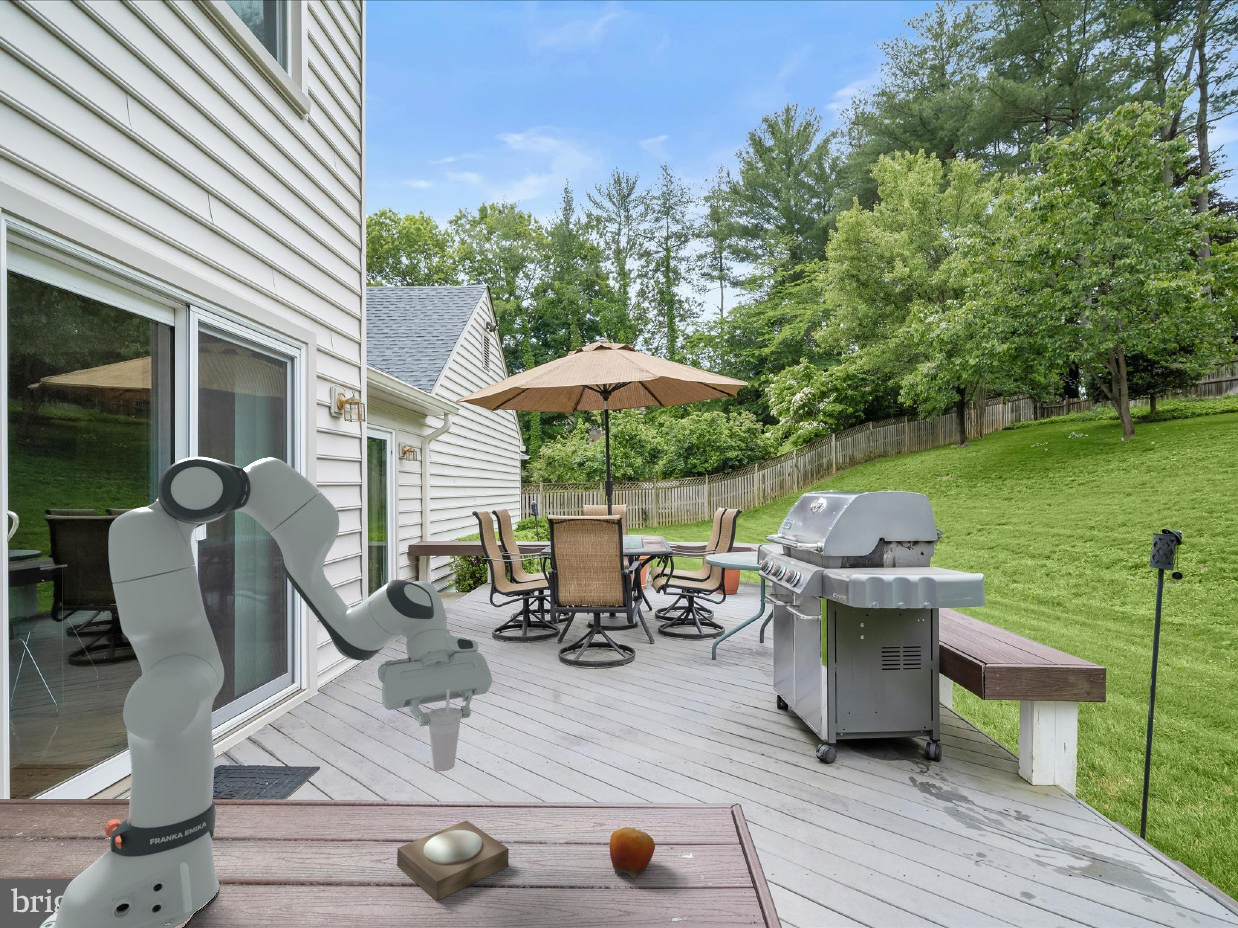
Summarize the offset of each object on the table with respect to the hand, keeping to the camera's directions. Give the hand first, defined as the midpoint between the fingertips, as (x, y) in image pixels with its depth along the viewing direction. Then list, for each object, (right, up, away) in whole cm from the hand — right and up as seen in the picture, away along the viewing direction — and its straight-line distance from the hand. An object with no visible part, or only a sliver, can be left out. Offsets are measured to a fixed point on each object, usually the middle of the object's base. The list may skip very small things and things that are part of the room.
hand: (445, 720), depth 113 cm
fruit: (+34, -25, -4) cm, 42 cm away
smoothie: (0, -9, 0) cm, 9 cm away
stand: (+2, -25, -3) cm, 25 cm away
